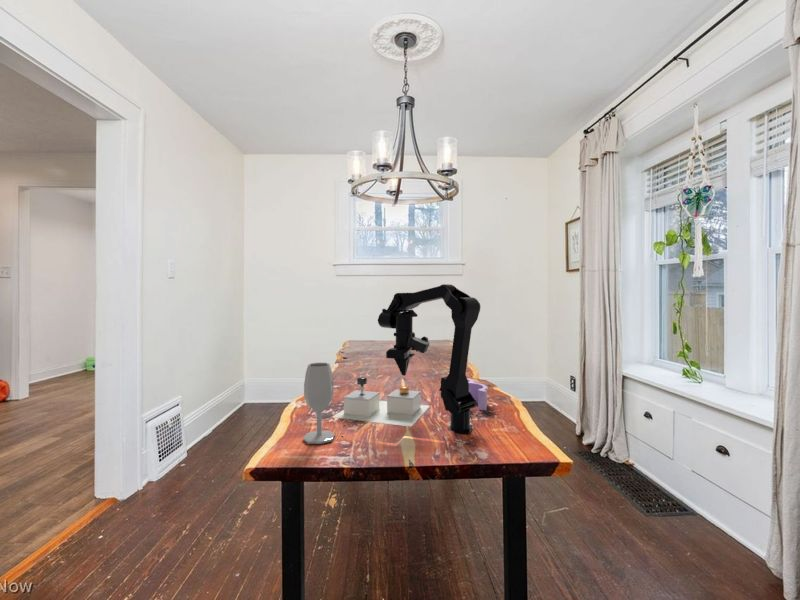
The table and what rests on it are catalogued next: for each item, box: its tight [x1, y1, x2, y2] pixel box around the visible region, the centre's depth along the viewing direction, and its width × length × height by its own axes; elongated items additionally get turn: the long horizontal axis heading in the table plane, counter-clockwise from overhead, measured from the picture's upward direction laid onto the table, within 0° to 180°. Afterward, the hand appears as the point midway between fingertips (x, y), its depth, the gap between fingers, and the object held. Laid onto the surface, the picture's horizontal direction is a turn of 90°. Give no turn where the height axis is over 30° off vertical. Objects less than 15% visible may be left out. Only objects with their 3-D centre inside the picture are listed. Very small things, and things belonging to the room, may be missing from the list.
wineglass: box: [303, 362, 336, 445], centre depth 107 cm, size 9×9×21 cm
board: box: [332, 400, 430, 428], centre depth 130 cm, size 22×27×1 cm
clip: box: [458, 377, 488, 411], centre depth 141 cm, size 20×12×7 cm, turn 7°
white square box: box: [386, 388, 422, 416], centre depth 131 cm, size 10×9×6 cm
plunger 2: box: [399, 385, 410, 394], centre depth 130 cm, size 7×7×7 cm
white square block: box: [343, 389, 380, 417], centre depth 130 cm, size 10×9×6 cm
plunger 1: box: [356, 376, 368, 396], centre depth 129 cm, size 7×7×7 cm
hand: (403, 375), depth 130 cm, fingers closed
